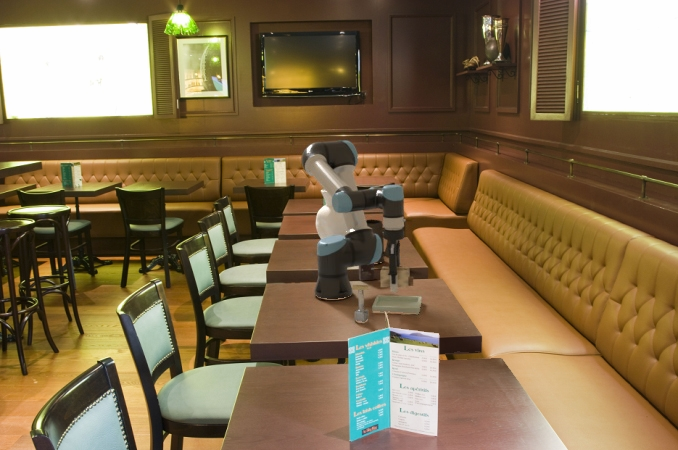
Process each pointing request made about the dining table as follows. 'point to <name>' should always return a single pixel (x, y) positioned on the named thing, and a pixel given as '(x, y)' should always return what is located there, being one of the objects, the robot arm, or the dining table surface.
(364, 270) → the box
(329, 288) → the robot arm
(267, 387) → the dining table surface
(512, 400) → the dining table surface
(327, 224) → the vase
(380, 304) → the tray
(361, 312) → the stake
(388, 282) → the slotted wooden block
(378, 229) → the beer stein
